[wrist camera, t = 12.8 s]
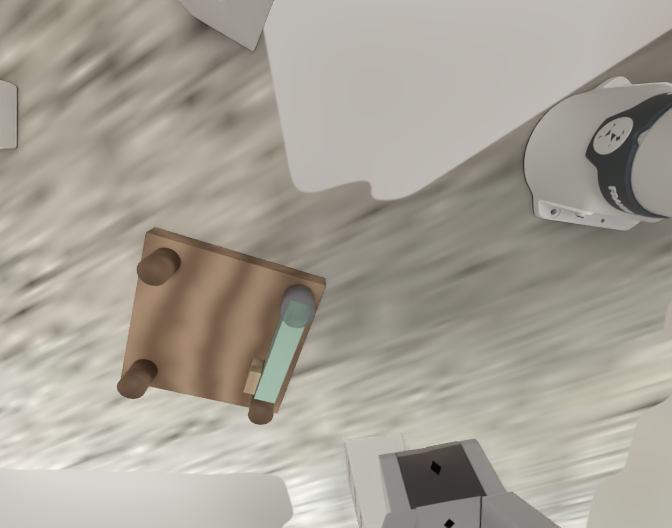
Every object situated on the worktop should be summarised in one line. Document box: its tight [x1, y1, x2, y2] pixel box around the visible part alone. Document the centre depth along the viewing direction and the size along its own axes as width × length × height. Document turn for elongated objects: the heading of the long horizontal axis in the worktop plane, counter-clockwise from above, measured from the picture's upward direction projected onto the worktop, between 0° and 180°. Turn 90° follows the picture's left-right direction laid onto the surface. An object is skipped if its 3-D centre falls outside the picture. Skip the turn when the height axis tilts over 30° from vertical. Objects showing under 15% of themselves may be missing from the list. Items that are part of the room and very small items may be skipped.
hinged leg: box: [254, 285, 315, 403], centre depth 46 cm, size 17×4×4 cm, turn 159°
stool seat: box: [117, 228, 326, 425], centre depth 46 cm, size 24×24×6 cm
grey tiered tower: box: [345, 433, 404, 528], centre depth 53 cm, size 10×10×20 cm
